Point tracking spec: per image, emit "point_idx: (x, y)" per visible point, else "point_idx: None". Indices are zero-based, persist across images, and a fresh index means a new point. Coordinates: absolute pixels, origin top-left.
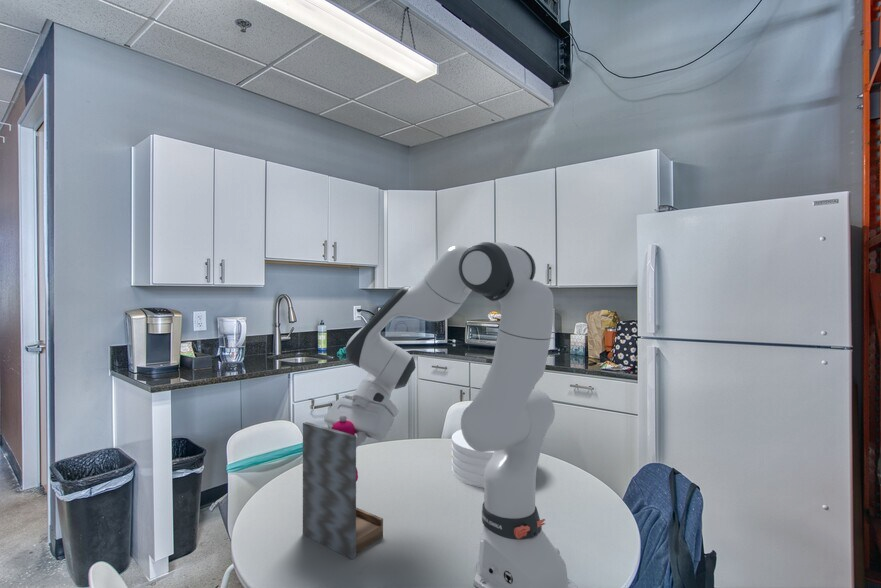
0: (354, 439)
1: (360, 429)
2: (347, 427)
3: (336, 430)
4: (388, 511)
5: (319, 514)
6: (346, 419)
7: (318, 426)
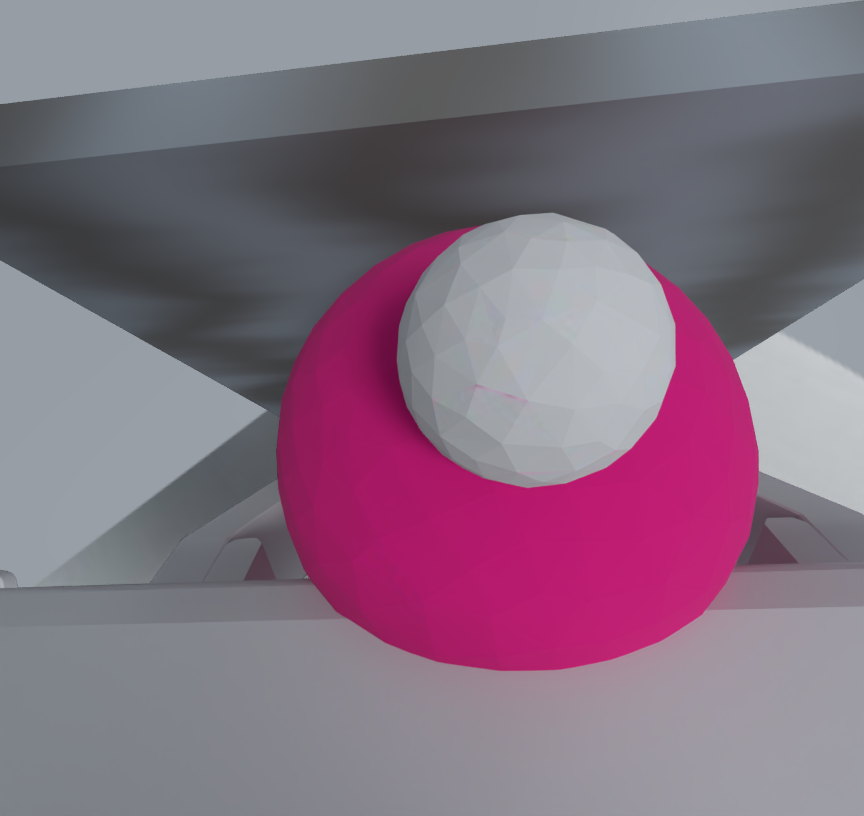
0: None
1: (138, 584)
2: (297, 375)
3: (299, 126)
4: None
5: None
6: (768, 730)
7: (753, 43)
